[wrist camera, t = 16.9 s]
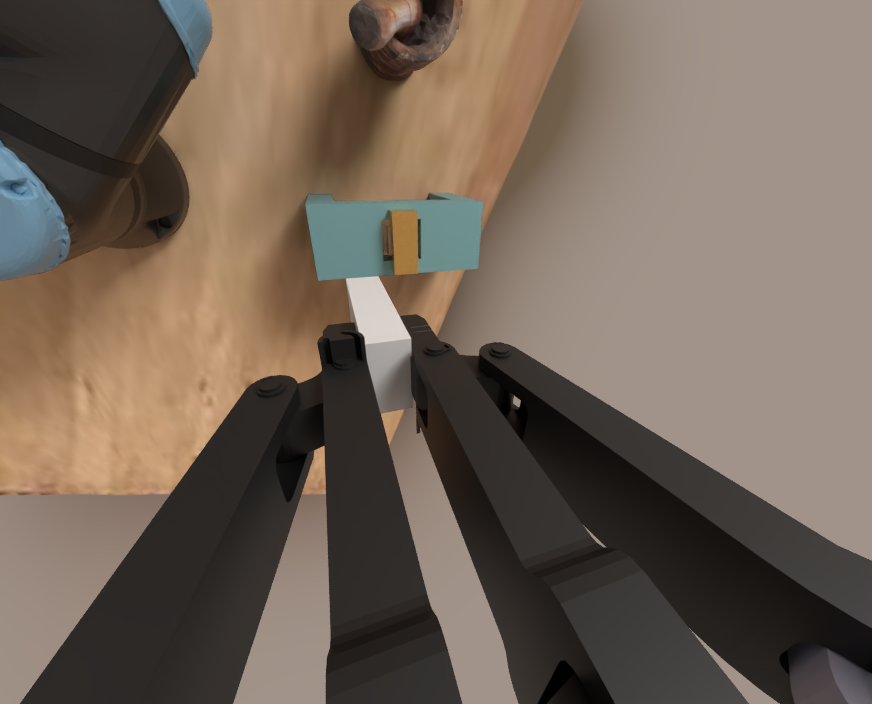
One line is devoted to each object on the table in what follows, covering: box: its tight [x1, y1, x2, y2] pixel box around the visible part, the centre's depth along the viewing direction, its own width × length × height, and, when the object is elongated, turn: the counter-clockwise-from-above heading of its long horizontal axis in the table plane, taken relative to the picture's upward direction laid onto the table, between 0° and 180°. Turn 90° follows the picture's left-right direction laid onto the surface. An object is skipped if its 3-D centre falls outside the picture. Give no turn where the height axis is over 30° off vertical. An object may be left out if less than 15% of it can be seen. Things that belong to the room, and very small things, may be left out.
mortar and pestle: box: [349, 0, 464, 80], centre depth 31 cm, size 12×9×20 cm
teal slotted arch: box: [305, 193, 483, 281], centre depth 44 cm, size 20×8×12 cm, turn 90°
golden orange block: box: [381, 209, 418, 275], centre depth 42 cm, size 3×7×14 cm, turn 0°
